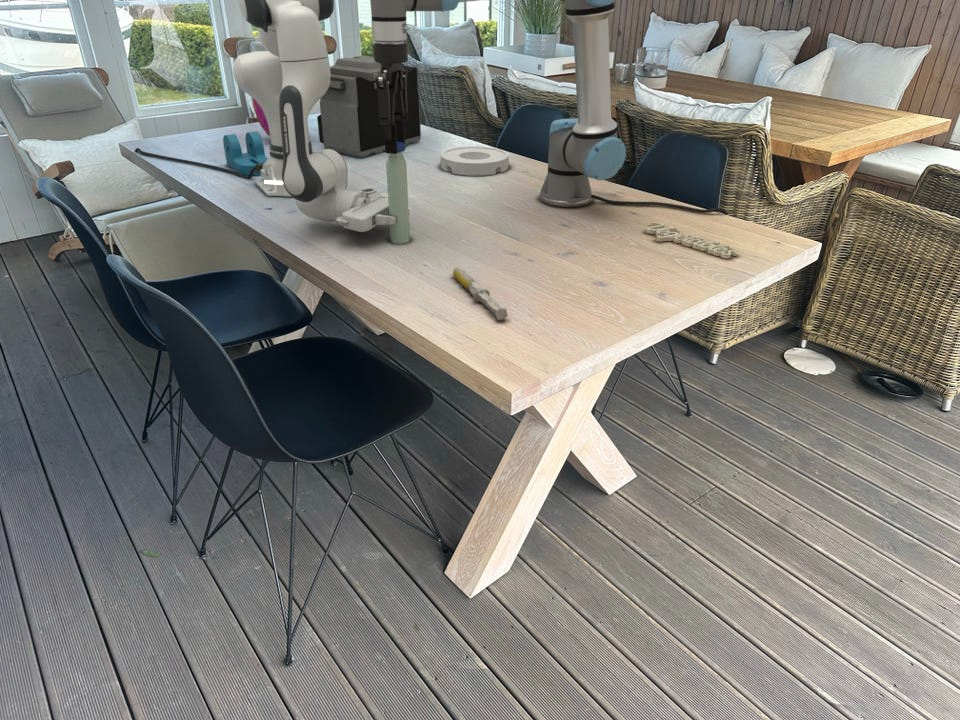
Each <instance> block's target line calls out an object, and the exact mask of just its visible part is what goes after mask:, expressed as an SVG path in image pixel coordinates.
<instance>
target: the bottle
mask: <svg viewBox="0 0 960 720" xmlns="http://www.w3.org/2000/svg"><path fill="white" fill-rule="evenodd" d="M385 168H386V184H387V185H386V186H387V192H388V204H389V216H390V215H393V216H397V223H395V224H389V235H390V236H389V237H390V242H391V243H393V244H397V245H400V244H401V245H402V244H406V243H409V242H410V240H411V239H410V221H409V220H410V218H409V217H410V215H409V213H408V209H409V195H408V194H409V191H408V169H407V168H408V167H407V161H406V159H405V156H404V151H403V152H399V153H397V154H390V153H388V156H387V159H386V164H385Z"/></svg>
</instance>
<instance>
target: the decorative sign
mask: <svg viewBox="0 0 960 720" xmlns="http://www.w3.org/2000/svg"><path fill="white" fill-rule="evenodd" d="M650 225H651V226H647V227H646V229H645V233H646V234H650V235H655V236H656V239H655V242H667V241H668V242H673V243H676V244H681V245H682V246H686V247H689V248H690V247H691V248H692V249H695V250H699V251H701V252H707V254H710V255H713V256H715V257H720V258H722V259H731V256H733V257H736V256H737V253H738V252H737V251H736V250H735V249H730V247H731V246H730V244H725V243H724V244H723V243H722V244H720V243H721V242H720V241H718V240H716V241H715V240H714V241H713V240H711V241H705V240H704V238H703V237H701V236H697V235H696V236H695V235H693V234H688V235H686V234H683V233H678V232H677V227H675V226H667V227H665V223H662V222H655V221H651V224H650Z"/></svg>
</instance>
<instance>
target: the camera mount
mask: <svg viewBox="0 0 960 720" xmlns="http://www.w3.org/2000/svg"><path fill="white" fill-rule="evenodd" d="M222 140H223V141H222V143H223V149H224V150H223V151H224V156H225V161H226V165H227V166H228V167H230V168H231V169H232V170H233V171H236V172H238V173H240V174H242V175H244V176H249V175H250V172H251V170H252V168H254V167H256V165H255V164H259V163H262V162H266V161H267V159H268V158H269V157H267V156H266V153H265V145H264V141H263V139H262V136H261V134H260V132H258V131H247V132H246V133H245V146H246V152H243V151H242V150H243V149H242V146H241V142H240V140H239V138H238V135H236V134H235V133H231V134H224V135H223V138H222ZM253 176H261V174H260V173H257V172H256V170H255V171H254V172H253Z"/></svg>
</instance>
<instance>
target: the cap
mask: <svg viewBox="0 0 960 720" xmlns="http://www.w3.org/2000/svg"><path fill="white" fill-rule="evenodd" d="M405 151H406V146H405V143H403V142H397V153H399V152H403V153H404V152H405Z"/></svg>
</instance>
